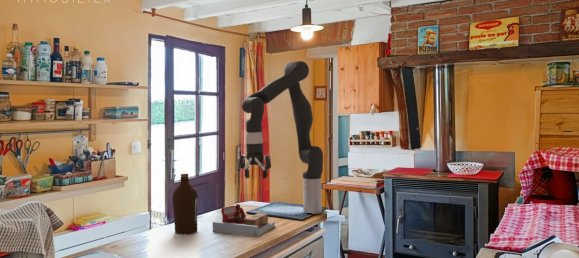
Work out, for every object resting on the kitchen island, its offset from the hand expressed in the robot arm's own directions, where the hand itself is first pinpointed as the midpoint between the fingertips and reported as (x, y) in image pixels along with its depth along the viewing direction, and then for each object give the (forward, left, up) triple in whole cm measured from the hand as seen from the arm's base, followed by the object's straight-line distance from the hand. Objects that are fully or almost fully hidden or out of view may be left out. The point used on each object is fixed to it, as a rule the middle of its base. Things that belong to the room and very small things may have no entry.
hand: (256, 178), depth 207 cm
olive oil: (+21, -23, -21) cm, 38 cm away
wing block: (+7, +4, -21) cm, 23 cm away
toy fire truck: (+9, -7, -22) cm, 24 cm away
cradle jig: (+8, -2, -21) cm, 23 cm away
